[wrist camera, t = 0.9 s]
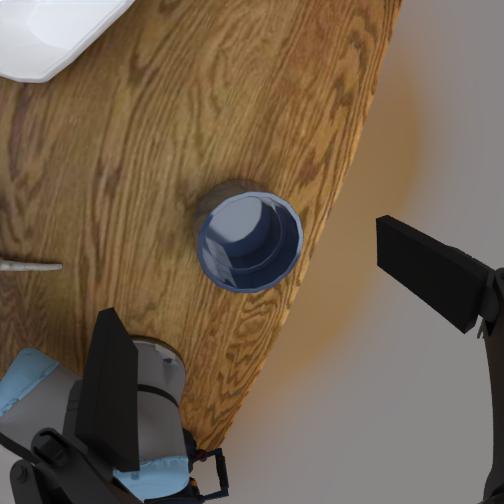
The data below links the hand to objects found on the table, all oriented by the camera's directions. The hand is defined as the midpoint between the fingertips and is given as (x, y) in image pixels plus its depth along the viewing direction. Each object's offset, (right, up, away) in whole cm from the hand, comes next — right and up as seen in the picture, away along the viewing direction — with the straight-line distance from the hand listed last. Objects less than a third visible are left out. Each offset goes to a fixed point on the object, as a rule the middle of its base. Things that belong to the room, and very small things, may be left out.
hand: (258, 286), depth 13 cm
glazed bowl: (-2, +5, +26) cm, 27 cm away
